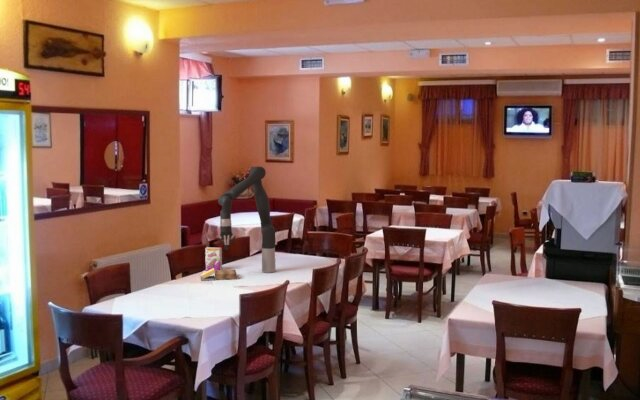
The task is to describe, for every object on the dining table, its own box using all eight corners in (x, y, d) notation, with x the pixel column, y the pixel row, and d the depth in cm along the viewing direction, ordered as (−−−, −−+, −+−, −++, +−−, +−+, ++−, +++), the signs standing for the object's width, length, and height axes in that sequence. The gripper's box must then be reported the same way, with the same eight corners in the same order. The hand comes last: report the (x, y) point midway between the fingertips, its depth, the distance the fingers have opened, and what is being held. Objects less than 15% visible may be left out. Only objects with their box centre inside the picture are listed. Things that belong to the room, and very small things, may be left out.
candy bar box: (205, 270, 447) (204, 248, 446) (207, 269, 452) (206, 247, 451) (220, 271, 446) (220, 248, 445) (222, 269, 451) (221, 247, 450)
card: (215, 271, 427) (213, 267, 427) (215, 272, 422) (213, 269, 421) (202, 276, 426) (201, 273, 426) (203, 278, 420) (201, 275, 420)
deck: (235, 275, 433) (235, 269, 433) (236, 279, 420) (236, 273, 420) (214, 276, 430) (214, 270, 430) (215, 280, 418) (215, 274, 417)
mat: (213, 276, 431) (213, 275, 431) (214, 280, 417) (214, 280, 417) (200, 276, 429) (200, 276, 429) (201, 281, 415) (201, 280, 415)
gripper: (235, 223, 431) (236, 248, 433) (215, 224, 428) (216, 249, 430) (236, 225, 424) (237, 250, 425) (216, 226, 421) (217, 251, 422)
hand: (226, 250), depth 427 cm, fingers closed
